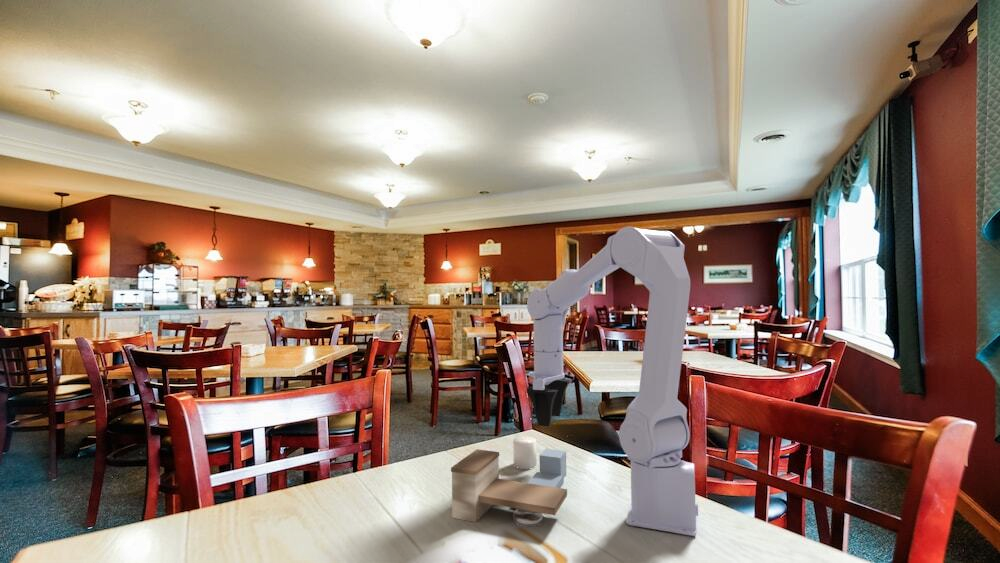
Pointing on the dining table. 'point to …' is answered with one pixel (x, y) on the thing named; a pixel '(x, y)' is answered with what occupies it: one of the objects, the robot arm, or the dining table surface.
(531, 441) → the white rounded cylinder
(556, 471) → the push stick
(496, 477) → the plinth shelf
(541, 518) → the tape roll
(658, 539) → the dining table surface
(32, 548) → the dining table surface
